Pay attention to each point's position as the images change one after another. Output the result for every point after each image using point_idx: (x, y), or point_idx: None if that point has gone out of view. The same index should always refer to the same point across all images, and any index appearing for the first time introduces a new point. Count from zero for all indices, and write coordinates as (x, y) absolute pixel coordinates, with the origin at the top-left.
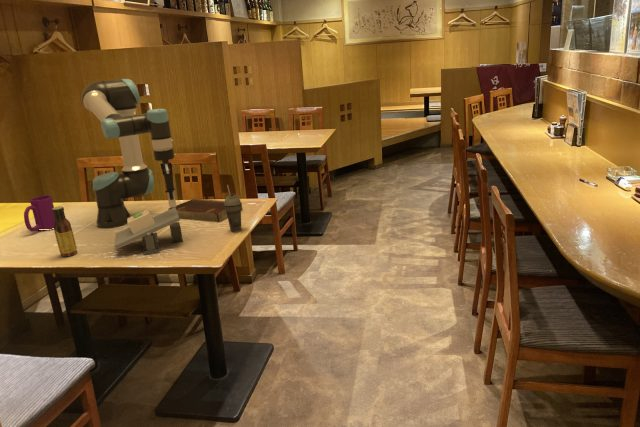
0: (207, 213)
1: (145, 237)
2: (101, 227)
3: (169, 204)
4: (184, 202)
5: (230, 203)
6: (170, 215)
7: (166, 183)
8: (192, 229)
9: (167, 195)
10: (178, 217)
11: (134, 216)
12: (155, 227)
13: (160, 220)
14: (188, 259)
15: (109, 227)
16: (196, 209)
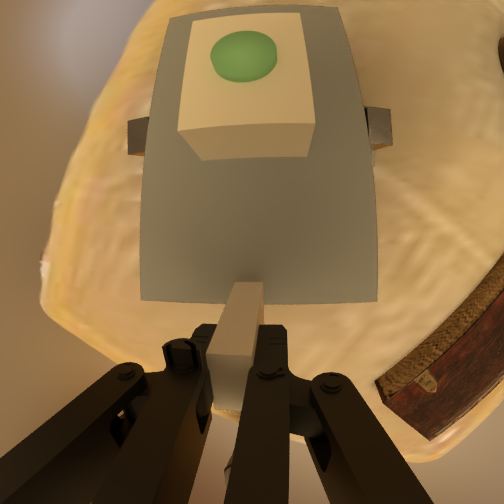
0: (418, 371)
1: (128, 123)
2: (502, 38)
3: (232, 294)
4: None
5: (226, 477)
6: (237, 261)
7: (45, 424)
8: (363, 302)
9: (249, 329)
10: (141, 299)
11: (220, 40)
12: (143, 167)
13: (226, 194)
14: (77, 258)
15: (499, 52)
16: (473, 339)
